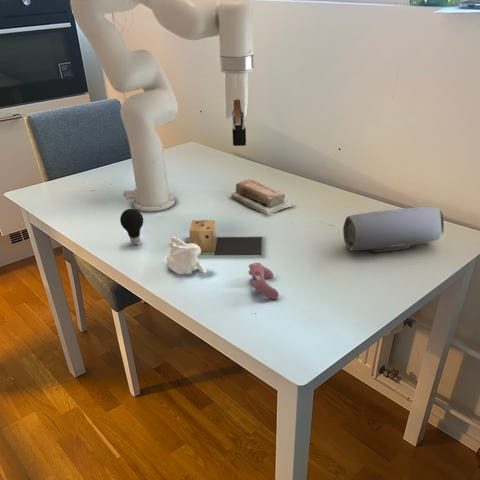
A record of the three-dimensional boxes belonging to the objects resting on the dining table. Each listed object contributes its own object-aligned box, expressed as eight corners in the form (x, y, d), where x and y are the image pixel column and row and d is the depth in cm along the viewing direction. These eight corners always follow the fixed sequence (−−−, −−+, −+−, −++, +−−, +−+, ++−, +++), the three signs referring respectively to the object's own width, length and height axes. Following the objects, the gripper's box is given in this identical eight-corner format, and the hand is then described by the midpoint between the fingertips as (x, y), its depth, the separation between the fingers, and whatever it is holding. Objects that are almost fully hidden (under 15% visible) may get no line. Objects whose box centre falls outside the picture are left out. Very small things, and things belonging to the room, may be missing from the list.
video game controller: (257, 283, 119) (243, 261, 115) (274, 274, 118) (260, 252, 114) (262, 307, 111) (247, 284, 107) (280, 298, 110) (266, 274, 106)
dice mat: (182, 257, 127) (182, 255, 127) (187, 239, 135) (187, 237, 135) (261, 256, 126) (261, 255, 125) (261, 238, 134) (261, 236, 134)
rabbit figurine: (212, 273, 120) (209, 237, 114) (189, 287, 115) (185, 249, 110) (177, 258, 126) (173, 223, 121) (155, 270, 122) (149, 234, 116)
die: (214, 252, 128) (191, 252, 128) (216, 241, 132) (194, 241, 133) (213, 230, 124) (189, 230, 124) (215, 220, 129) (192, 220, 129)
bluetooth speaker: (422, 234, 133) (430, 198, 127) (440, 251, 125) (448, 213, 119) (340, 243, 130) (344, 207, 124) (353, 261, 123) (357, 223, 117)
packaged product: (229, 183, 154) (255, 175, 159) (230, 198, 157) (255, 190, 161) (266, 200, 142) (293, 191, 147) (266, 216, 145) (292, 207, 150)
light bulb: (128, 252, 130) (122, 216, 124) (122, 242, 134) (115, 208, 128) (150, 246, 132) (144, 211, 126) (143, 237, 136) (137, 203, 131)
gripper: (223, 58, 121) (226, 136, 132) (218, 70, 109) (222, 154, 120) (254, 57, 120) (255, 135, 131) (252, 69, 108) (253, 154, 119)
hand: (239, 144), depth 125 cm, fingers closed
